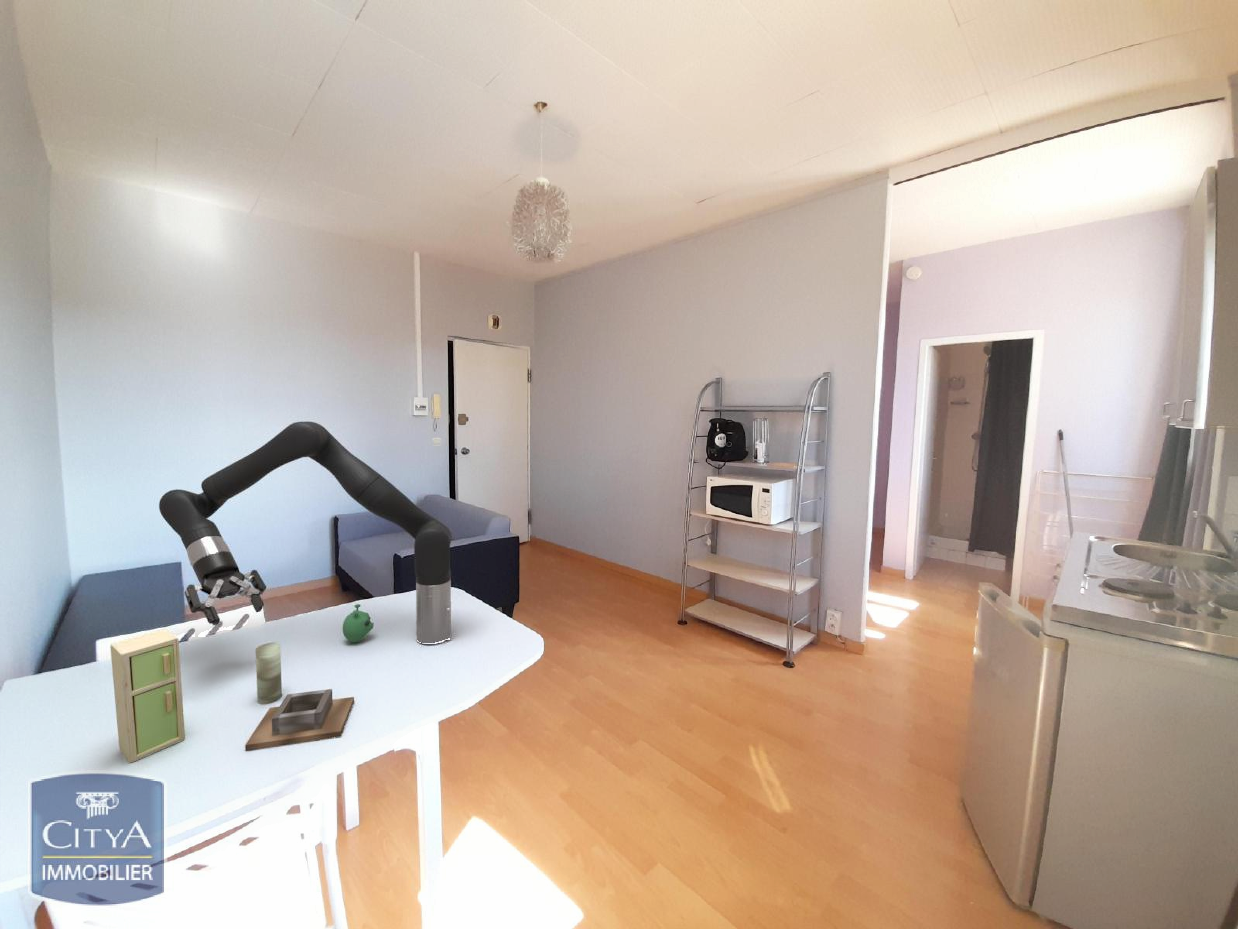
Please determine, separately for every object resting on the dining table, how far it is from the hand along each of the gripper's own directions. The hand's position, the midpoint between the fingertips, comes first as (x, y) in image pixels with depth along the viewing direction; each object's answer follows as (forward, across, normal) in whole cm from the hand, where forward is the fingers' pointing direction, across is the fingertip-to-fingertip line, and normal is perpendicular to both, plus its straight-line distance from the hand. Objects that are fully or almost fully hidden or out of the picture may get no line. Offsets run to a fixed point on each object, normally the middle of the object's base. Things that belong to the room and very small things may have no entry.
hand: (239, 616), depth 110 cm
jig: (+31, -1, -8) cm, 32 cm away
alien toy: (+14, +27, +9) cm, 32 cm away
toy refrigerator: (+18, -19, +5) cm, 27 cm away
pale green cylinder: (+20, 0, +3) cm, 20 cm away
